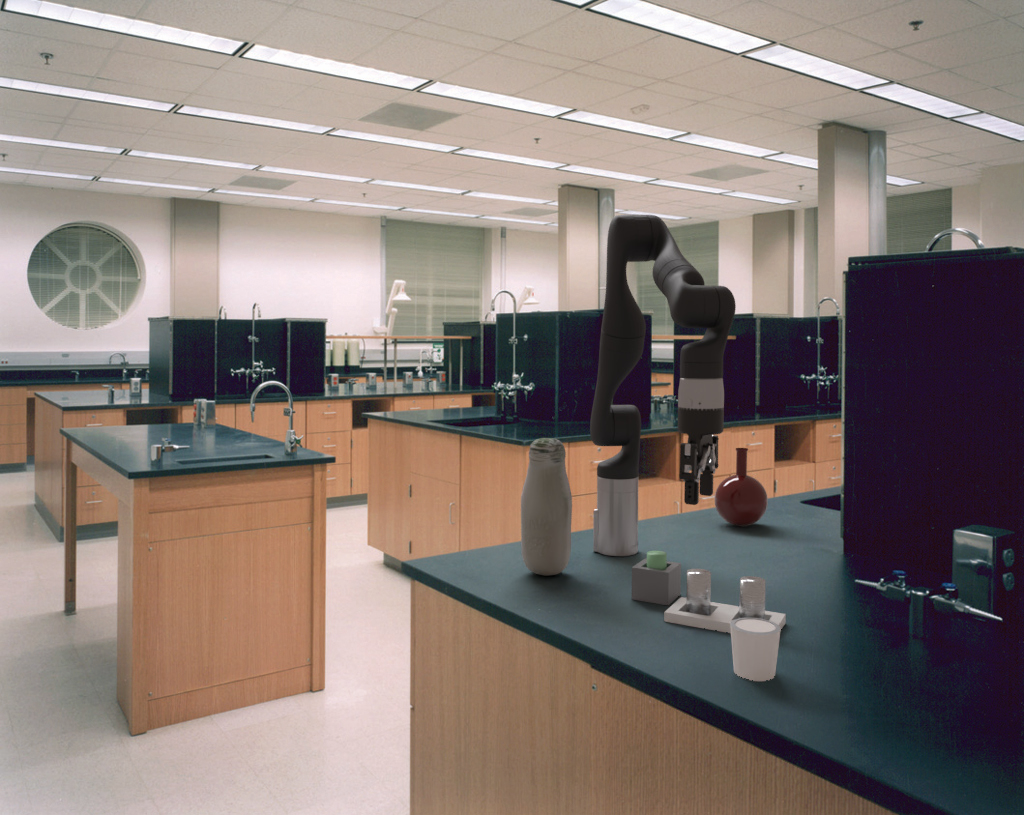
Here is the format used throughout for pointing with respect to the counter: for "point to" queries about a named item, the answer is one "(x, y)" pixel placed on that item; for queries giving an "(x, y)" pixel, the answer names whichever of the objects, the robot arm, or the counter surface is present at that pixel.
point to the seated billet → (752, 597)
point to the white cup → (755, 648)
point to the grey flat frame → (713, 616)
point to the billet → (698, 591)
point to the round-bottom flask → (741, 495)
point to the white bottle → (546, 509)
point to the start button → (657, 560)
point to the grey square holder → (656, 583)
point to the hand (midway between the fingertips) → (699, 499)
